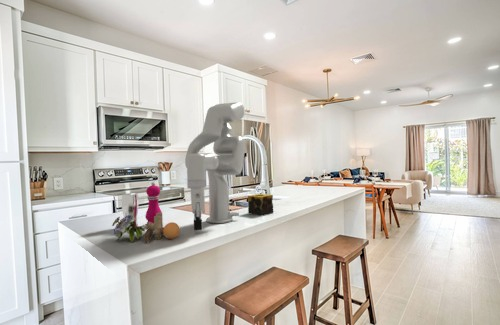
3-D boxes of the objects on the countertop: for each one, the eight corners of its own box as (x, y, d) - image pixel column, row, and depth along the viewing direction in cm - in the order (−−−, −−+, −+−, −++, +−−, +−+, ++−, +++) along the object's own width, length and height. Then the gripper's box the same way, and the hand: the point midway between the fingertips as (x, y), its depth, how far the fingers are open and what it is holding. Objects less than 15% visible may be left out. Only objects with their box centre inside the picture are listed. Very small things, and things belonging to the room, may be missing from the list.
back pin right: (163, 233, 106) (162, 212, 106) (162, 234, 104) (162, 213, 104) (156, 233, 106) (156, 212, 106) (156, 235, 103) (155, 214, 103)
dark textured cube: (273, 213, 143) (273, 194, 143) (261, 216, 136) (261, 196, 136) (259, 210, 150) (259, 193, 150) (247, 213, 143) (247, 195, 143)
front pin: (170, 229, 104) (149, 221, 102) (169, 231, 102) (148, 222, 100) (167, 234, 104) (146, 226, 102) (166, 236, 101) (145, 228, 100)
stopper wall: (153, 232, 108) (153, 224, 108) (148, 242, 94) (148, 234, 94) (149, 232, 108) (149, 225, 108) (144, 243, 94) (143, 234, 94)
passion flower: (118, 255, 98) (106, 227, 101) (146, 242, 105) (134, 217, 109) (123, 244, 90) (110, 214, 94) (153, 231, 98) (140, 204, 101)
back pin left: (161, 237, 100) (161, 215, 100) (161, 239, 98) (160, 216, 98) (155, 238, 100) (154, 215, 100) (154, 239, 97) (153, 217, 97)
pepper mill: (165, 223, 123) (164, 181, 123) (158, 227, 116) (157, 182, 116) (150, 223, 124) (149, 181, 124) (142, 227, 117) (141, 182, 117)
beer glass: (135, 224, 122) (134, 192, 122) (141, 227, 118) (140, 193, 117) (119, 227, 118) (118, 194, 118) (125, 230, 113) (124, 195, 113)
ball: (157, 231, 99) (170, 230, 104) (164, 242, 95) (177, 241, 100) (165, 219, 98) (177, 219, 102) (172, 230, 94) (185, 229, 99)
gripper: (207, 185, 99) (208, 233, 99) (205, 182, 113) (206, 224, 113) (187, 186, 97) (188, 235, 97) (187, 183, 112) (188, 225, 112)
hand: (197, 229), depth 105 cm, fingers closed
